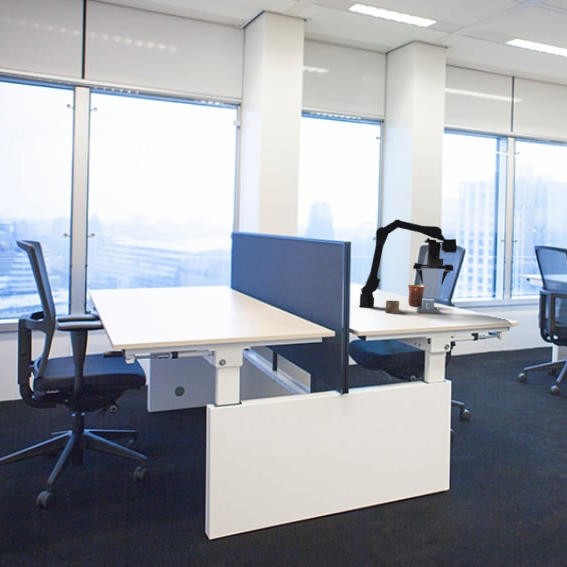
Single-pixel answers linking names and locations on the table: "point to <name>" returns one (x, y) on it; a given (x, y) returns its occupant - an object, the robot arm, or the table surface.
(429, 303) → the blue-gray cube
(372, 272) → the robot arm
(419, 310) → the tray
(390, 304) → the open wooden cubby box
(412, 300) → the mug
